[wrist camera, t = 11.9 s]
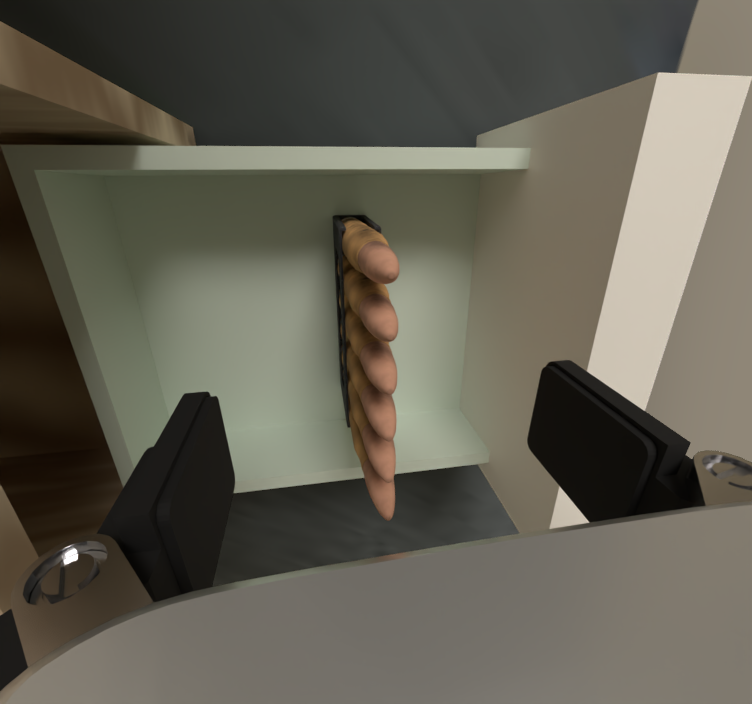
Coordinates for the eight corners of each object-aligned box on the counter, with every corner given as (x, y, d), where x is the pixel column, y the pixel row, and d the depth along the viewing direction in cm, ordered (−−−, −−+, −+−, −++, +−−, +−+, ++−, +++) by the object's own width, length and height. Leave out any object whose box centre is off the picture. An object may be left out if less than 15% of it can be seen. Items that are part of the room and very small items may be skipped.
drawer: (84, 131, 18) (-264, 36, 7) (549, 136, 21) (793, 77, 11) (173, 452, 26) (70, 644, 15) (506, 418, 29) (623, 553, 18)
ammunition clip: (368, 385, 25) (413, 535, 14) (340, 387, 25) (363, 542, 14) (365, 214, 21) (426, 238, 10) (332, 215, 20) (356, 240, 9)
